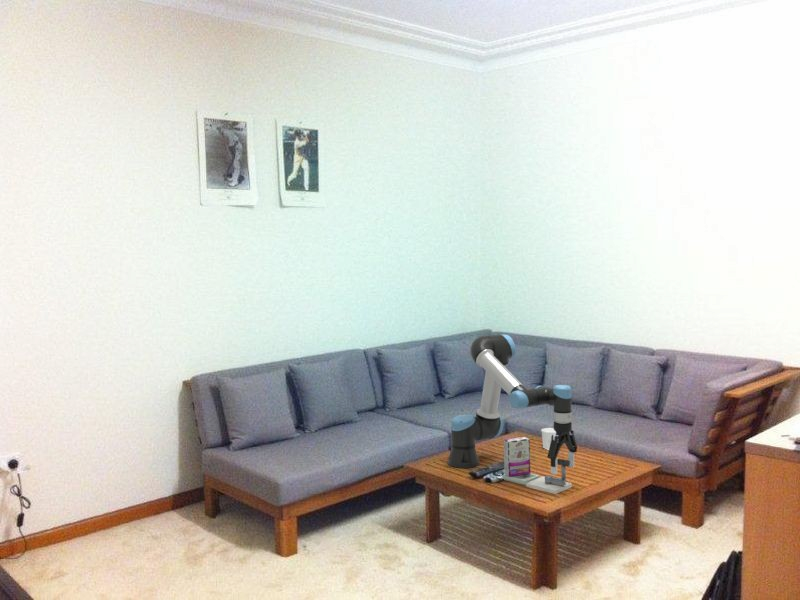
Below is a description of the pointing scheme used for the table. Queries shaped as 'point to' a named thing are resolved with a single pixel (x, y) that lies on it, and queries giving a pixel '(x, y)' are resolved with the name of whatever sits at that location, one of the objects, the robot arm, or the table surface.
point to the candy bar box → (516, 456)
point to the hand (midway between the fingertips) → (562, 470)
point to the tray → (521, 478)
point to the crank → (561, 480)
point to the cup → (547, 437)
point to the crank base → (547, 486)
